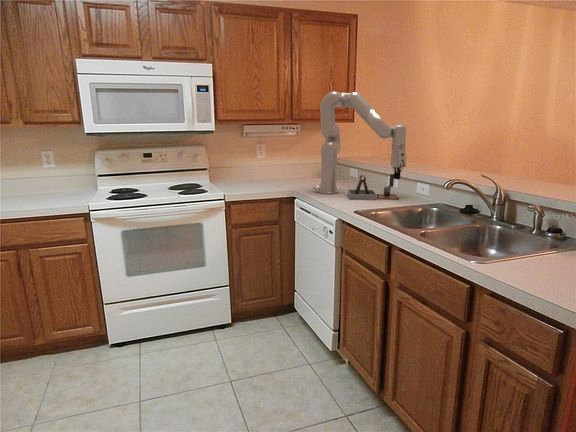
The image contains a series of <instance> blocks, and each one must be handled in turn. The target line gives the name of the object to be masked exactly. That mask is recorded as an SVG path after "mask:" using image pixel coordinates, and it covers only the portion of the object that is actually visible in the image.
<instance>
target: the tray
mask: <svg viewBox="0 0 576 432" xmlns="http://www.w3.org/2000/svg"><path fill="white" fill-rule="evenodd" d="M355 190H356V189H347V196H348V197H347V198H348V200H349V201H350V200H355V201H357V200H358V201H359V200H362V201H377V200H378V199H377V194H378V193H376V192H375V190H373V189H368V191H369V194H366V193H365V189H360V190H359V193H358V194H354V192H355Z"/></svg>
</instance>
